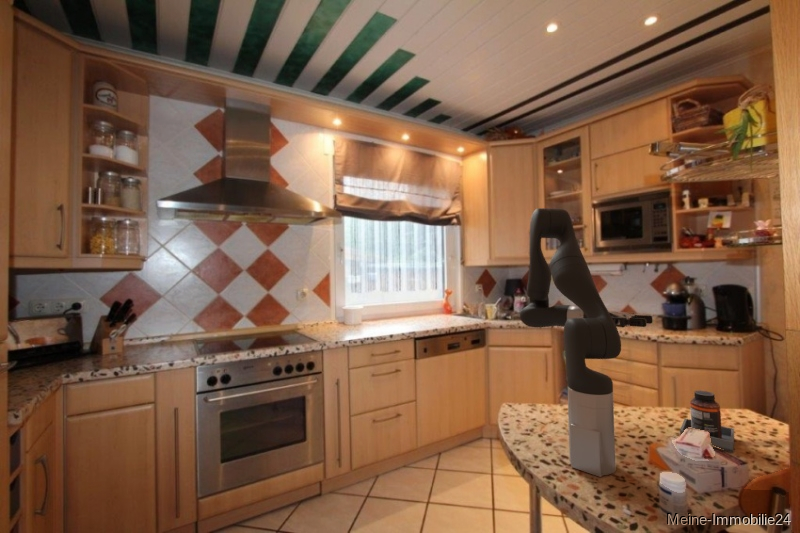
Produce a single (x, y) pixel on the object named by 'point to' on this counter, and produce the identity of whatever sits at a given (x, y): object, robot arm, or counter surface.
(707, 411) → the supplement bottle
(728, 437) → the slate tray
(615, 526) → the counter surface
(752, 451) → the counter surface
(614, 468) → the robot arm
